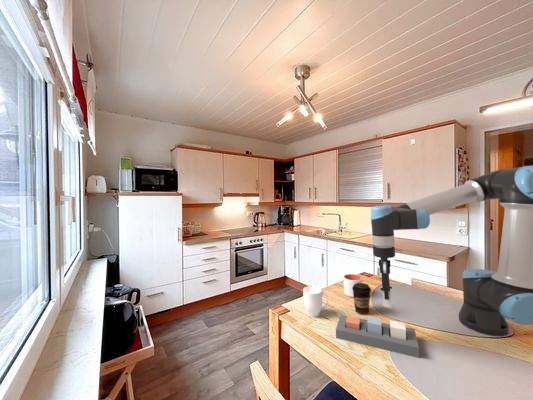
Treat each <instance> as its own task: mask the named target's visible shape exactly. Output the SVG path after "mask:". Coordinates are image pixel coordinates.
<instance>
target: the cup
mask: <svg viewBox="0 0 533 400" xmlns="http://www.w3.org/2000/svg"><path fill="white" fill-rule="evenodd" d="M356 283H363V277H362V276H361V275H359V274H353V273H351V274H349V273H348V274H345V275H343V293H344V294H345V295H346V296H347V297H349V298H352V299H354V295H353V289H352V288H353V286H354V284H356Z"/></svg>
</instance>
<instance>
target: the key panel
mask: <svg viewBox="0 0 533 400" xmlns="http://www.w3.org/2000/svg"><path fill="white" fill-rule="evenodd" d="M347 316H348V315H344V314H340V315H339V319H338V322H337V325H336V328H335V338H336V339H339V340H344V341H347V342H351V343H356V344H361V345H364V346H369V347H372V348H377V349H379V350H380V349H381V350H385V351H388V352H389V351H390V352H393V353H398V354H402V355H405V356H409V357H414V358H417V359H419V358H420V345H419V342H418V341H419V340H418V338H417V334H416V329H415V328H413V327H406V326H405V328H406V340H403V339H398V338H393V337H391V335H390V323H386V322H382V335H379V334H375V333H370V332H367V319H366V318H360V328H361V330H356V329H352V328H347V327H346V320H347Z"/></svg>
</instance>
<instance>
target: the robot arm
mask: <svg viewBox="0 0 533 400" xmlns="http://www.w3.org/2000/svg"><path fill="white" fill-rule="evenodd" d="M488 200H499V205H500V206H501V207H503V208H504V213H503V224H502V229H501V230H502V232H501V241H500V249H499V256H498V257H499V258H498V266H497V271H495V270H490V269H484V268H483V269H480V268H467V269H464V270H463V271H462V277H461V278H462V293H463V295H462V297H463V304H462V306H461V308H460V310H459V312H458V321H459V322H460V324H462V325H463V326H465V327H466V328H468V329H470V330H473V331H475V332H478V333H481V334H484V335H488V336H495V337H503V336H504V337H505V336H507V335H508V334H509V333H510V328H509V327H510V326H509V324H508V322H507V320H509V321H510V322H511V321H512V322H513V323H515V324H518V325H521V326H522V325H523V326H533V165H524V166H518V167H511V168H504V169H502V168H501V169H496V170H494V171H491V172H489V173H488V172H487V173H485V174H482V175H479V176H478V177H475V178H472V179H469V180H466V181H465V182H464V184H461V185H459V186H458V185H457V186H455V187H452V188H449V189H447V190H444V191H443V190H442V191H441V192H437V193H433V194H431V195H428V196H425V197H423V198H419V199H416V200H413V201H410V202H408V203H405V204H400V205H398V206H391V205H376V206H375V205H374V206H373V207H371V209H370V224H371V237H370V239H371V240H372V245H373V246H372V253H373V254H372V255H373V256H374V257H375V258H380V259H378V267H379V273H380V275H381V286H382V287H380V291H382V292H381V293H382V307H384V308H392V299H391V298H392V297H391V296H392V295H391V290H392V289H393V287H392V285H390V284H391V283H390V274H391V258H395V256H396V249H395V246H396V245H395V244H396V243H395V241H396V240H395V233H394V232H395V231H402V230H404V231H405V230H423V229H427V228H428V227H429V226H430V224H431V219H430V215H434V214H437V213H440V212H443V211H447V210H449V209H454V208H456V207H460V206H462V205H465V204H469V203H472V202H475V203H480V202H484V201H488Z"/></svg>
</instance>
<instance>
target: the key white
mask: <svg viewBox="0 0 533 400" xmlns="http://www.w3.org/2000/svg"><path fill="white" fill-rule="evenodd" d="M389 324H390V335H391V337H393V338H398V339H403V340H406V328H405V327H406V324H405V322H403V321H397V320H389Z"/></svg>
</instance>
